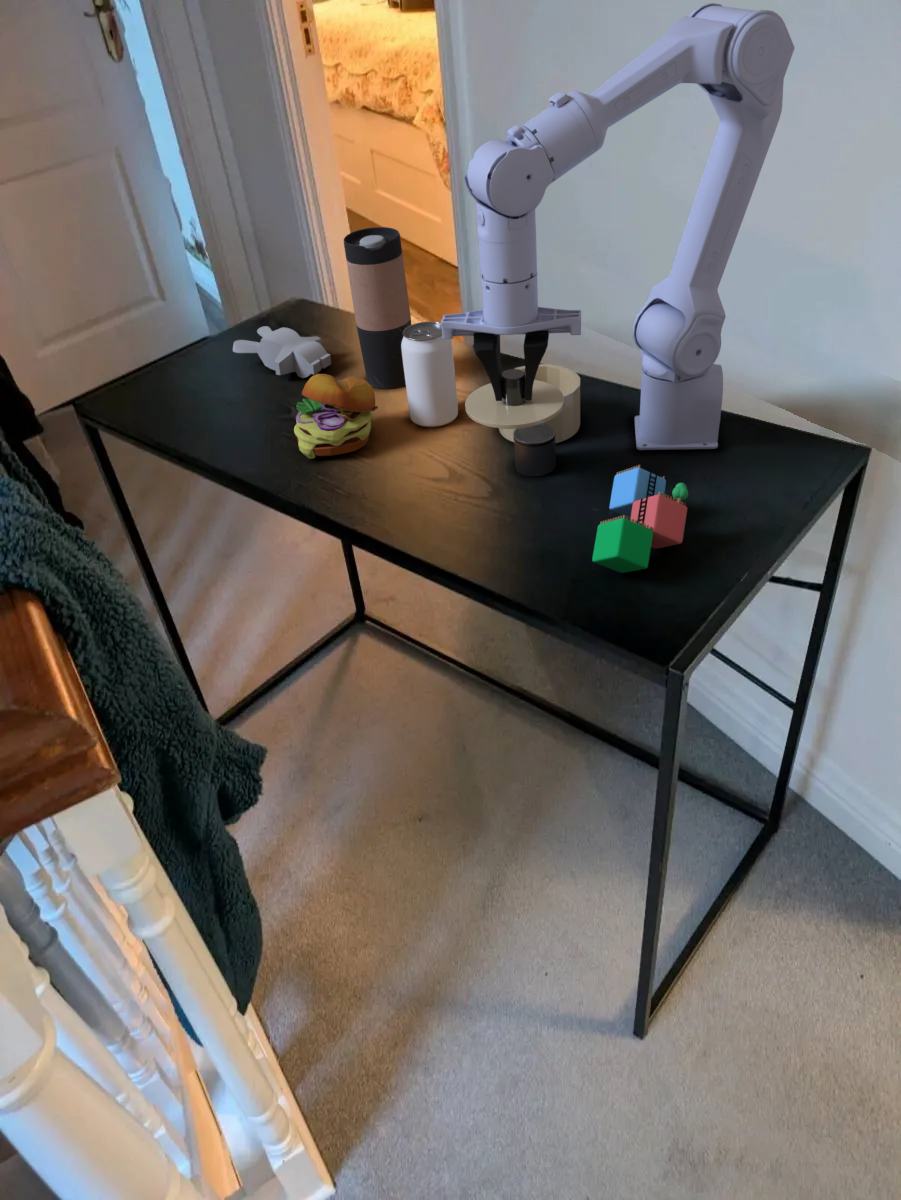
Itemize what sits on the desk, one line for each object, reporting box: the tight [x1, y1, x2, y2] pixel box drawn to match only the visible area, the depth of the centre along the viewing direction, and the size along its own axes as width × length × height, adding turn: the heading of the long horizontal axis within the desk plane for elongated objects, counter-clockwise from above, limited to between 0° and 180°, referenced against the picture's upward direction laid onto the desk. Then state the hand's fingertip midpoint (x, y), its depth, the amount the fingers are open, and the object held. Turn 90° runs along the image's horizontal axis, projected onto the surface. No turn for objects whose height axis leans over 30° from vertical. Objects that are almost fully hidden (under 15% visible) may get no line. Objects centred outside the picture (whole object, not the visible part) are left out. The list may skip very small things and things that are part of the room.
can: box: [401, 321, 459, 428], centre depth 115 cm, size 6×6×12 cm
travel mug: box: [343, 226, 412, 390], centre depth 123 cm, size 8×8×20 cm
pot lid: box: [464, 368, 564, 429], centre depth 99 cm, size 11×11×4 cm
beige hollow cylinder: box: [498, 363, 581, 444], centre depth 113 cm, size 10×10×6 cm
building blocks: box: [591, 464, 689, 574], centre depth 91 cm, size 8×8×12 cm
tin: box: [513, 423, 556, 478], centre depth 106 cm, size 5×5×4 cm
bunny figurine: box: [232, 325, 332, 379], centre depth 135 cm, size 10×5×15 cm
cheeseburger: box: [293, 373, 379, 460], centre depth 114 cm, size 10×11×10 cm
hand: (514, 396), depth 99 cm, fingers closed on pot lid, 2 cm apart
